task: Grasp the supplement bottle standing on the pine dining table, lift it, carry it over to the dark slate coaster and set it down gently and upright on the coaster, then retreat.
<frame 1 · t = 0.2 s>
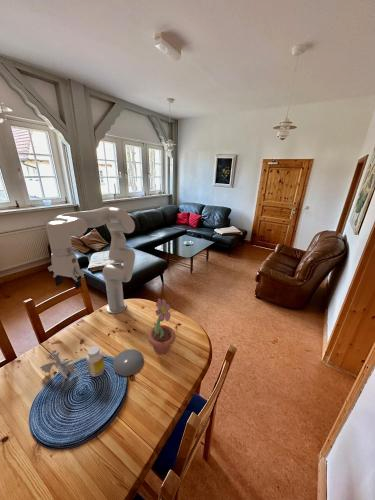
hand: (69, 286, 91), 37 cm above the table, tool pointing down, fingers open, 9 cm apart
fairy figurine: (63, 375, 91), on the table
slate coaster: (128, 362, 99), on the table
supplement bottle: (97, 370, 94), on the table
decorative flower: (161, 349, 107), on the table
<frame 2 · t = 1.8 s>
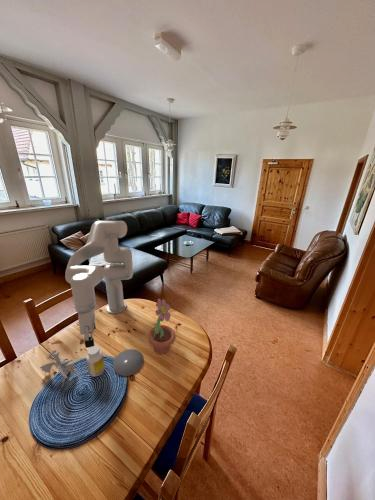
hand: (91, 337, 86), 20 cm above the table, tool pointing down, fingers open, 9 cm apart
nothing on the table moved.
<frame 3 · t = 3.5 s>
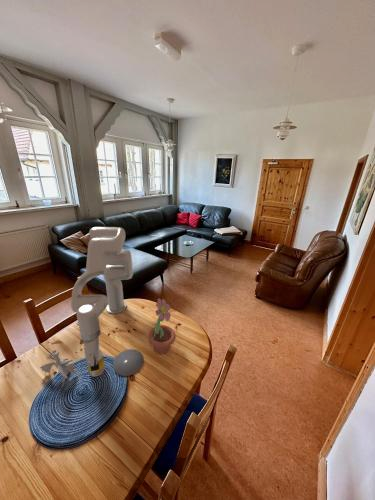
hand: (95, 362, 92), 5 cm above the table, tool pointing down, fingers closed on supplement bottle, 6 cm apart
supplement bottle: (97, 370, 94), on the table, touching gripper
everything else where it was.
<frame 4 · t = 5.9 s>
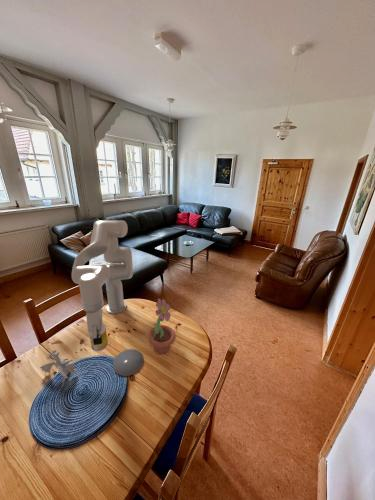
hand: (98, 336, 88), 19 cm above the table, tool pointing down, fingers closed on supplement bottle, 6 cm apart
supplement bottle: (99, 346, 90), point 14 cm above the table, touching gripper
everything else where it was.
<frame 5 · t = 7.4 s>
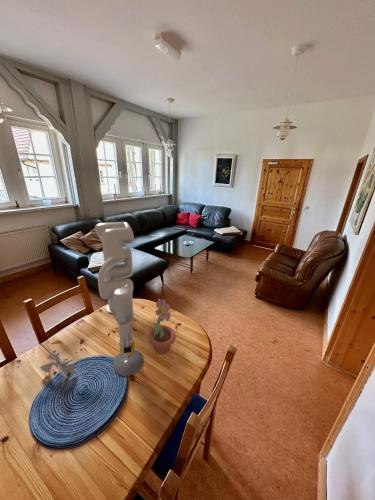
hand: (127, 345, 95), 11 cm above the table, tool pointing down, fingers closed on supplement bottle, 6 cm apart
supplement bottle: (127, 354, 97), point 5 cm above the table, touching gripper
everything else where it was.
when the fingers open (7 cm above the table, at t = 8.6 s): supplement bottle drops 1 cm, resting on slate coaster.
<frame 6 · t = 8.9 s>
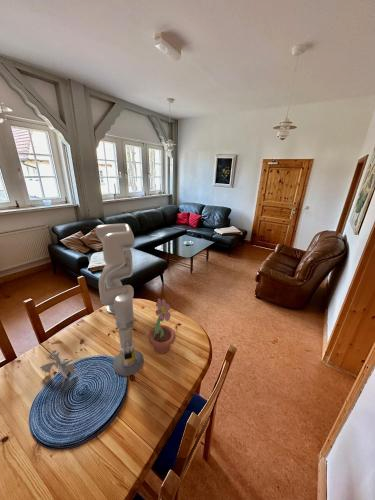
hand: (127, 349, 96), 8 cm above the table, tool pointing down, fingers open, 9 cm apart
supplement bottle: (128, 361, 99), point 1 cm above the table, touching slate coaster
everything else where it was.
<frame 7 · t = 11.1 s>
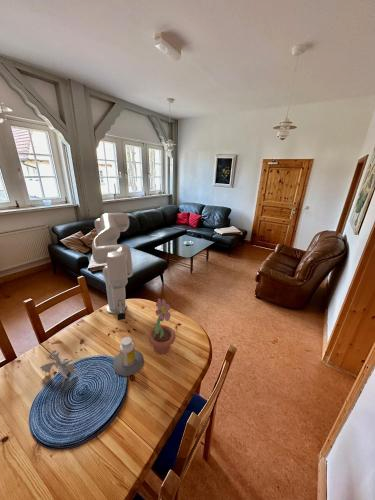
hand: (120, 311, 93), 26 cm above the table, tool pointing down, fingers open, 9 cm apart
nothing on the table moved.
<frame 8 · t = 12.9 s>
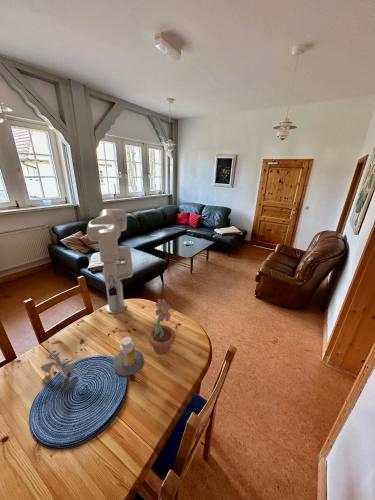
hand: (112, 289, 97), 33 cm above the table, tool pointing down, fingers open, 9 cm apart
nothing on the table moved.
at the end: supplement bottle inside the target area on the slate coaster (0.3 cm from its centre), point 0.6 cm above the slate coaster's base; supplement bottle tilted 0°; the gripper is holding nothing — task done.
